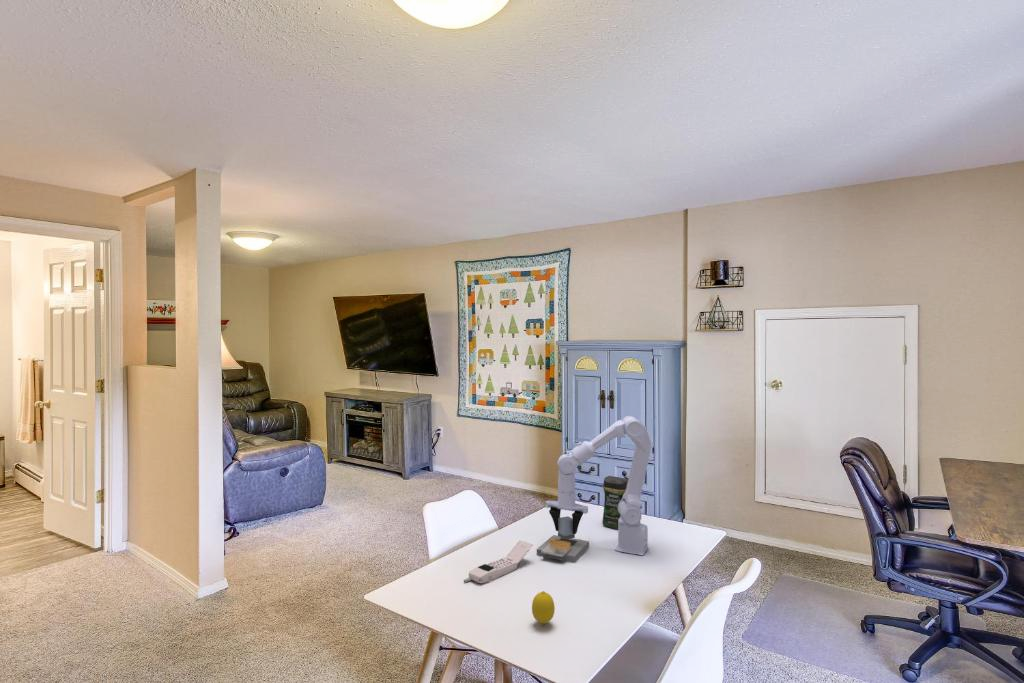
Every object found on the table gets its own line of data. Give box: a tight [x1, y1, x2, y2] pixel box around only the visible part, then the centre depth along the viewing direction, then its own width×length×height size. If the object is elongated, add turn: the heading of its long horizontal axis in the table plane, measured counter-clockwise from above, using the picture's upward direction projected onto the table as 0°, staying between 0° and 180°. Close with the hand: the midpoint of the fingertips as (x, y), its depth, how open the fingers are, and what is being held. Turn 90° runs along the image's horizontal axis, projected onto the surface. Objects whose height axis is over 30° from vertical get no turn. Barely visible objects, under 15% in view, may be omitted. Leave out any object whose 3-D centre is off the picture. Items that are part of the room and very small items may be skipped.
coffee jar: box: [602, 475, 629, 530], centre depth 200 cm, size 10×8×19 cm
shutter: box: [541, 539, 572, 557], centre depth 170 cm, size 8×8×2 cm
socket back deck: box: [536, 541, 583, 564], centre depth 172 cm, size 13×7×2 cm, turn 64°
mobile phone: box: [463, 540, 534, 584], centre depth 160 cm, size 6×6×25 cm
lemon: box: [531, 590, 555, 626], centre depth 130 cm, size 6×6×8 cm
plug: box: [557, 515, 576, 540], centre depth 178 cm, size 4×4×6 cm
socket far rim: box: [545, 535, 561, 543], centre depth 180 cm, size 4×6×2 cm, turn 154°
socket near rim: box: [571, 541, 589, 555], centre depth 176 cm, size 4×6×2 cm, turn 154°
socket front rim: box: [552, 534, 590, 548], centre depth 182 cm, size 13×2×2 cm, turn 64°
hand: (566, 531), depth 178 cm, fingers closed on plug, 6 cm apart
